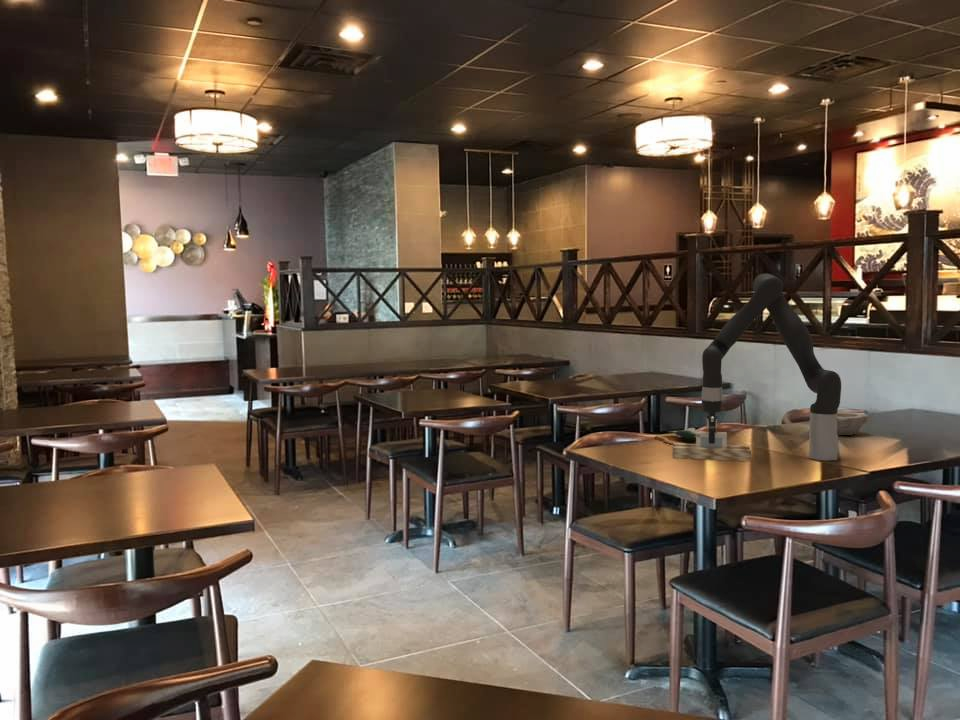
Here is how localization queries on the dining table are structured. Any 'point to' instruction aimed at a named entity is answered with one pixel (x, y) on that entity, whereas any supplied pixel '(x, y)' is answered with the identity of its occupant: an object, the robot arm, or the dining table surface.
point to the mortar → (850, 422)
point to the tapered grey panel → (703, 440)
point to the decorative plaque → (679, 437)
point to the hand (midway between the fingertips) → (711, 441)
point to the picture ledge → (712, 452)
